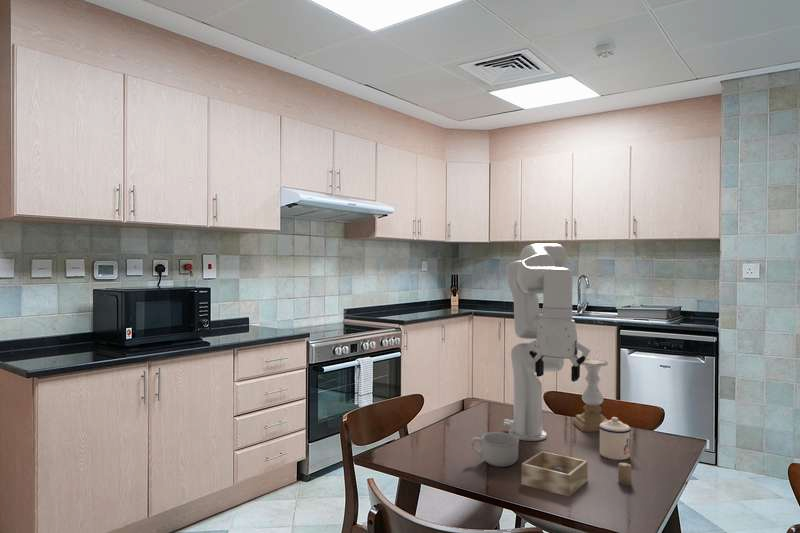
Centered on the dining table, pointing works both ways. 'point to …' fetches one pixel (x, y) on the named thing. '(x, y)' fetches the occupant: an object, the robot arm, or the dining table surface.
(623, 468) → the lid
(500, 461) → the teacup
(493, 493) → the dining table surface
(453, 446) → the dining table surface
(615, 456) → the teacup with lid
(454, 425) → the dining table surface
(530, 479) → the box
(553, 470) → the ball
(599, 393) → the candle holder
